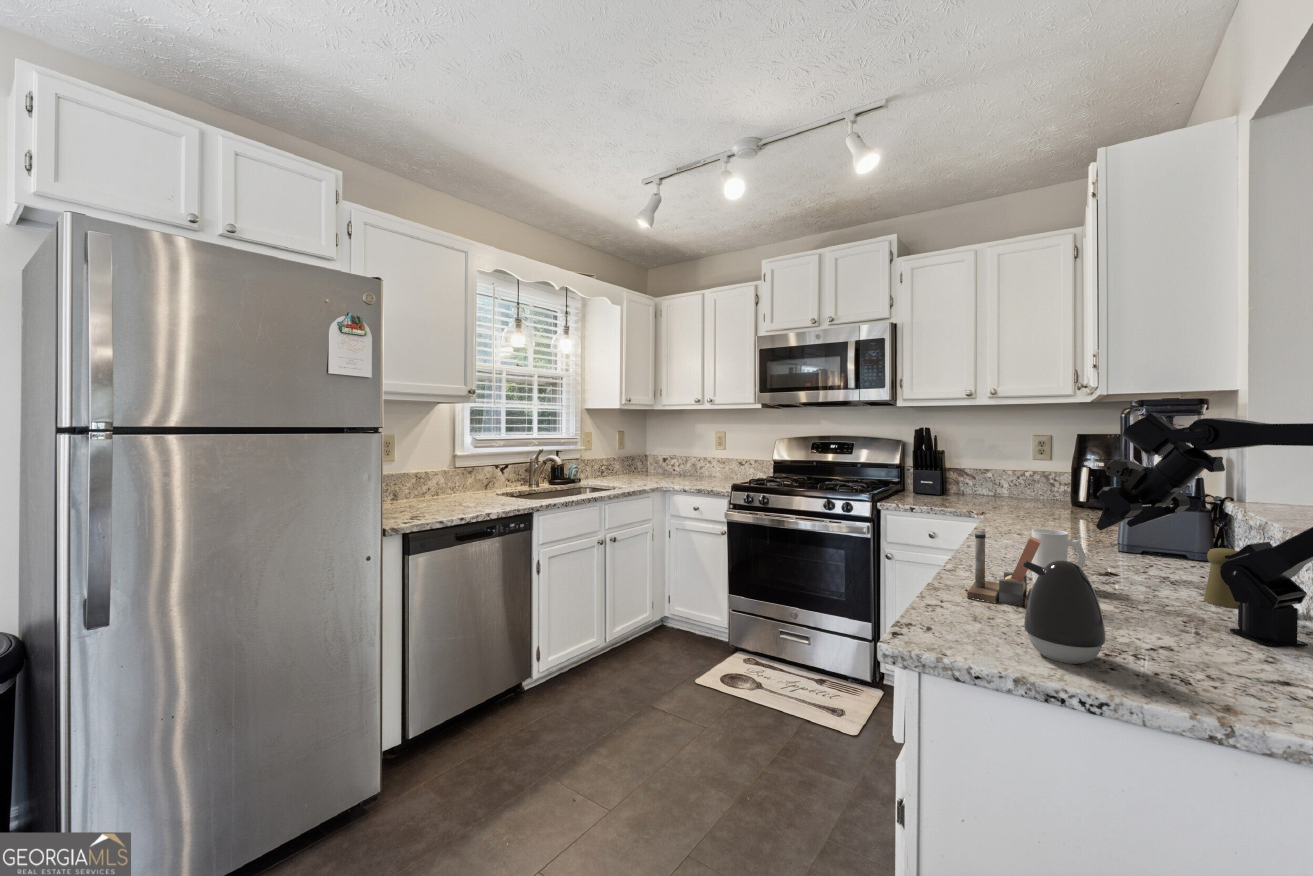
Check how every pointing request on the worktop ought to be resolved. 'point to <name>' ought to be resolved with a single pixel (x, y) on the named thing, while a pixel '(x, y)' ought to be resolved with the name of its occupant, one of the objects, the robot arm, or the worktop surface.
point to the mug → (1054, 548)
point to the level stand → (991, 590)
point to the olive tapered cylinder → (1219, 580)
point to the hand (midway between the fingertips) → (1113, 527)
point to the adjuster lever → (1026, 556)
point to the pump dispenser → (1064, 613)
